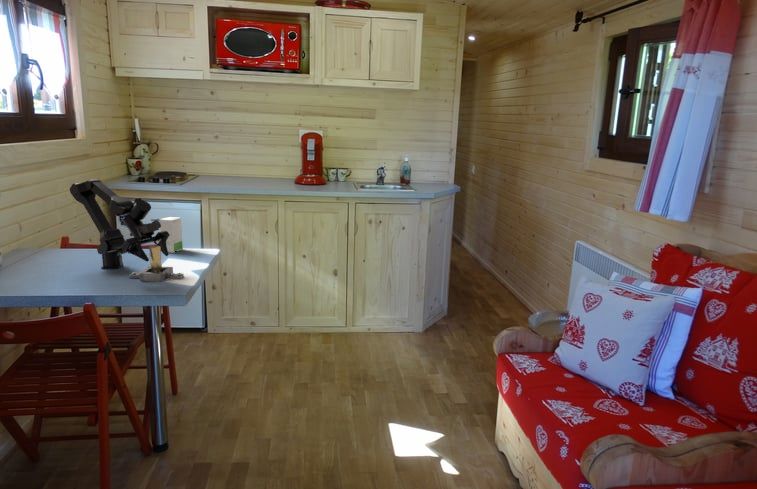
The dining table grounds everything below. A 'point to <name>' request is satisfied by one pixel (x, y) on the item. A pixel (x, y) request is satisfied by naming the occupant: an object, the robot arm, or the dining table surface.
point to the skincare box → (172, 233)
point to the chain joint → (156, 275)
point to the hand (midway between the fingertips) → (158, 258)
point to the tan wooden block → (155, 259)
